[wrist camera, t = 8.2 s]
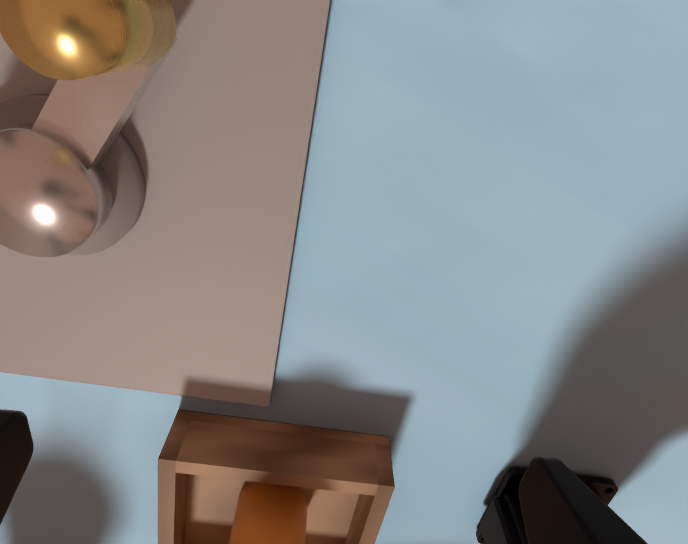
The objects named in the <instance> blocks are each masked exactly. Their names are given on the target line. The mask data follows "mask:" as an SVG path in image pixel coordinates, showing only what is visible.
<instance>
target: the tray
mask: <svg viewBox="0 0 688 544" xmlns="http://www.w3.org/2000/svg"><path fill="white" fill-rule="evenodd" d="M252 482H261V483H269V484H278V485H286V486H295V487H299V488H301V489H302V490H303V491H304V493H305V494H306V496H307V499H308V512H307V527H306V543H305V544H375V541H376V538H377V535H378V532H379V529H380V527H381V524H382V521H383V518H384V515H385V513H386V510H387V507H388V504H389V501H390V499H391V496H392V493H393V490H394V487H395V486H394V477H393V469H392V461H391V452H390V444H389V437H386V436H378V435H370V434H363V433H355V432H347V431H339V430H331V429H324V428H316V427H308V426H300V425H293V424H285V423H277V422H269V421H261V420H254V419H246V418H238V417H230V416H222V415H215V414H207V413H199V412H191V411H184V410H178V412H177V415H176V417H175V419H174V422H173V424H172V427H171V429H170V432H169V434H168V436H167V439H166V441H165V444H164V446H163V448H162V451H161V453H160V456H159V458H158V544H229V539H230V535H231V530H232V525H233V520H234V516H235V511H236V506H237V502H238V497H239V494H240V492H241V490H242V489H243V488H244V487H245V486H247V485H248V484H250V483H252Z"/></svg>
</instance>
